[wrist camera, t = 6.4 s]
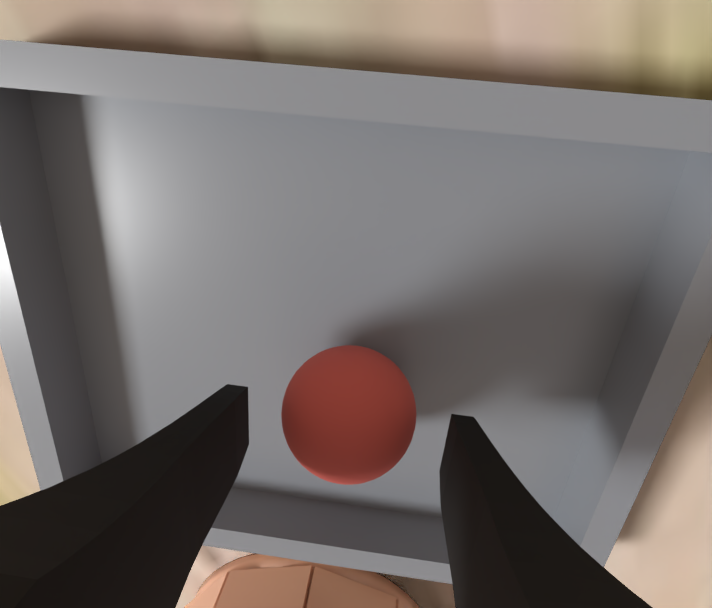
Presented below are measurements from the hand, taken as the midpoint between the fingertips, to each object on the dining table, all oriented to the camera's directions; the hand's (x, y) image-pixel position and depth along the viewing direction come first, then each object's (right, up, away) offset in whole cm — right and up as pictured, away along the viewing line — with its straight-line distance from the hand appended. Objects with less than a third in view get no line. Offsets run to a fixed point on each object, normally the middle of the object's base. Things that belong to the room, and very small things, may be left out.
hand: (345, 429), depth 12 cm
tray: (-1, +2, +3) cm, 4 cm away
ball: (0, 0, +1) cm, 1 cm away
